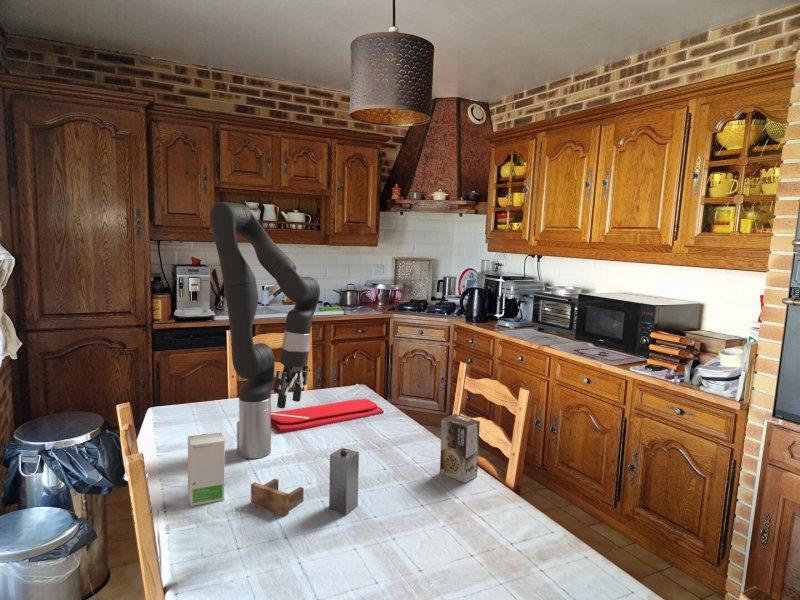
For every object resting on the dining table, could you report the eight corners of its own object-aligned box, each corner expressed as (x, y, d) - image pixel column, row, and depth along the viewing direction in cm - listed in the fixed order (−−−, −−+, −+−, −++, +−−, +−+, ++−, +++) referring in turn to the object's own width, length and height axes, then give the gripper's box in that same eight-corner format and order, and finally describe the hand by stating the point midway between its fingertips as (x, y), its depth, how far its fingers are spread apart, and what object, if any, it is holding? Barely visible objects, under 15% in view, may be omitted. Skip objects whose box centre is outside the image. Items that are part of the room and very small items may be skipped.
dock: (251, 503, 127) (250, 484, 127) (272, 490, 134) (272, 472, 133) (285, 516, 122) (285, 496, 121) (305, 502, 129) (306, 483, 128)
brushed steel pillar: (329, 509, 125) (330, 451, 124) (341, 500, 130) (342, 444, 128) (346, 515, 123) (347, 456, 121) (357, 506, 127) (359, 449, 126)
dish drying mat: (384, 414, 194) (384, 405, 194) (280, 436, 171) (280, 425, 171) (363, 403, 207) (363, 394, 207) (263, 421, 184) (263, 411, 184)
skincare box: (189, 507, 125) (188, 445, 123) (187, 494, 131) (185, 435, 129) (226, 500, 129) (225, 440, 127) (221, 488, 134) (221, 430, 132)
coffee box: (478, 476, 145) (481, 421, 143) (464, 483, 141) (467, 427, 139) (452, 465, 152) (454, 412, 150) (438, 472, 147) (440, 418, 145)
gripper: (296, 342, 152) (289, 396, 153) (270, 348, 138) (263, 407, 139) (319, 347, 150) (312, 401, 151) (295, 353, 136) (287, 413, 137)
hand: (288, 404), depth 145 cm, fingers open, 8 cm apart
